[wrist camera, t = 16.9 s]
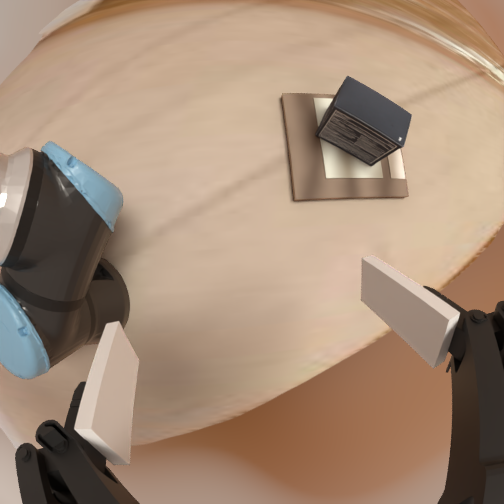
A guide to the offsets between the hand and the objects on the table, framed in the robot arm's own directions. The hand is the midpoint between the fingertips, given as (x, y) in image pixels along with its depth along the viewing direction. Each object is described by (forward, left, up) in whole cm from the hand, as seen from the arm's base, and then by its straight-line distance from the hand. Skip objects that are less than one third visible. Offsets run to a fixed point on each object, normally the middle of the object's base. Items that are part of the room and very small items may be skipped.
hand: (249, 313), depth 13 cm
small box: (+18, +19, -26) cm, 37 cm away
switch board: (+18, +18, -28) cm, 38 cm away
